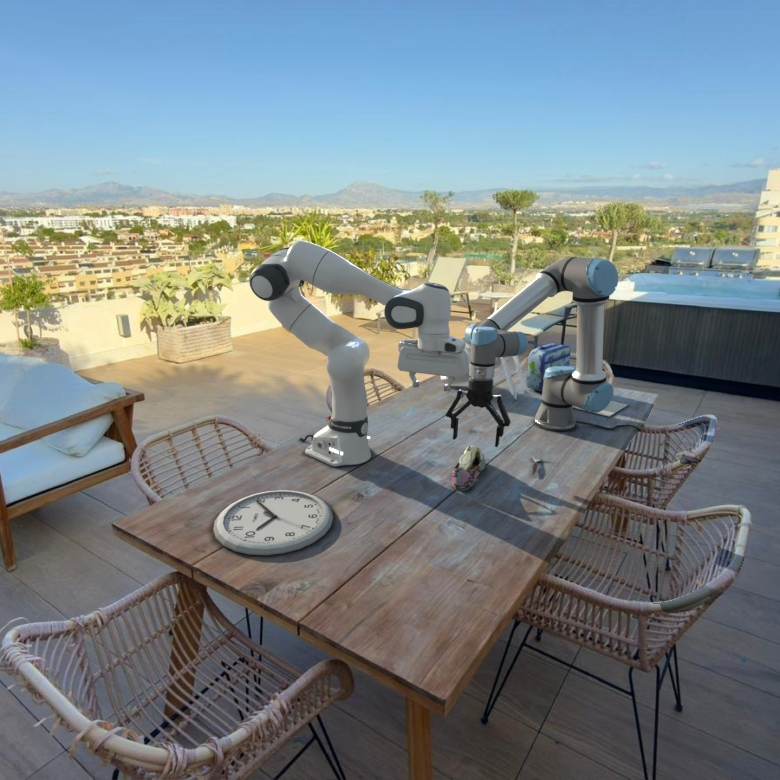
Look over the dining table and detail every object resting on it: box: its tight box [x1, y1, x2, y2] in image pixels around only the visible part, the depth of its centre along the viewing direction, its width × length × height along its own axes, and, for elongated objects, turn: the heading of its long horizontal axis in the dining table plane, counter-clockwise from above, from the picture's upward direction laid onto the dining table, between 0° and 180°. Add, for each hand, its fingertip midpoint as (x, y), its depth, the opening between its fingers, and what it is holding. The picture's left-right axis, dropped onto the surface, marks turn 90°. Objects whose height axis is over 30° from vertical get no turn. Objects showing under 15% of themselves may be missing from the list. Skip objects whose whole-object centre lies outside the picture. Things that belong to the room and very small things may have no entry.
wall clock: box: [212, 489, 334, 556], centre depth 134 cm, size 30×2×30 cm
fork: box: [532, 451, 543, 475], centre depth 168 cm, size 3×16×2 cm, turn 160°
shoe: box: [451, 444, 487, 492], centre depth 160 cm, size 8×24×9 cm, turn 158°
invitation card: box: [573, 400, 629, 418], centre depth 226 cm, size 21×1×15 cm
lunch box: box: [525, 343, 571, 393], centre depth 249 cm, size 26×11×21 cm, turn 134°
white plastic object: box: [440, 310, 531, 400], centre depth 245 cm, size 37×45×31 cm
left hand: (431, 388), depth 151 cm, fingers open, 8 cm apart
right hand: (475, 441), depth 167 cm, fingers open, 13 cm apart
